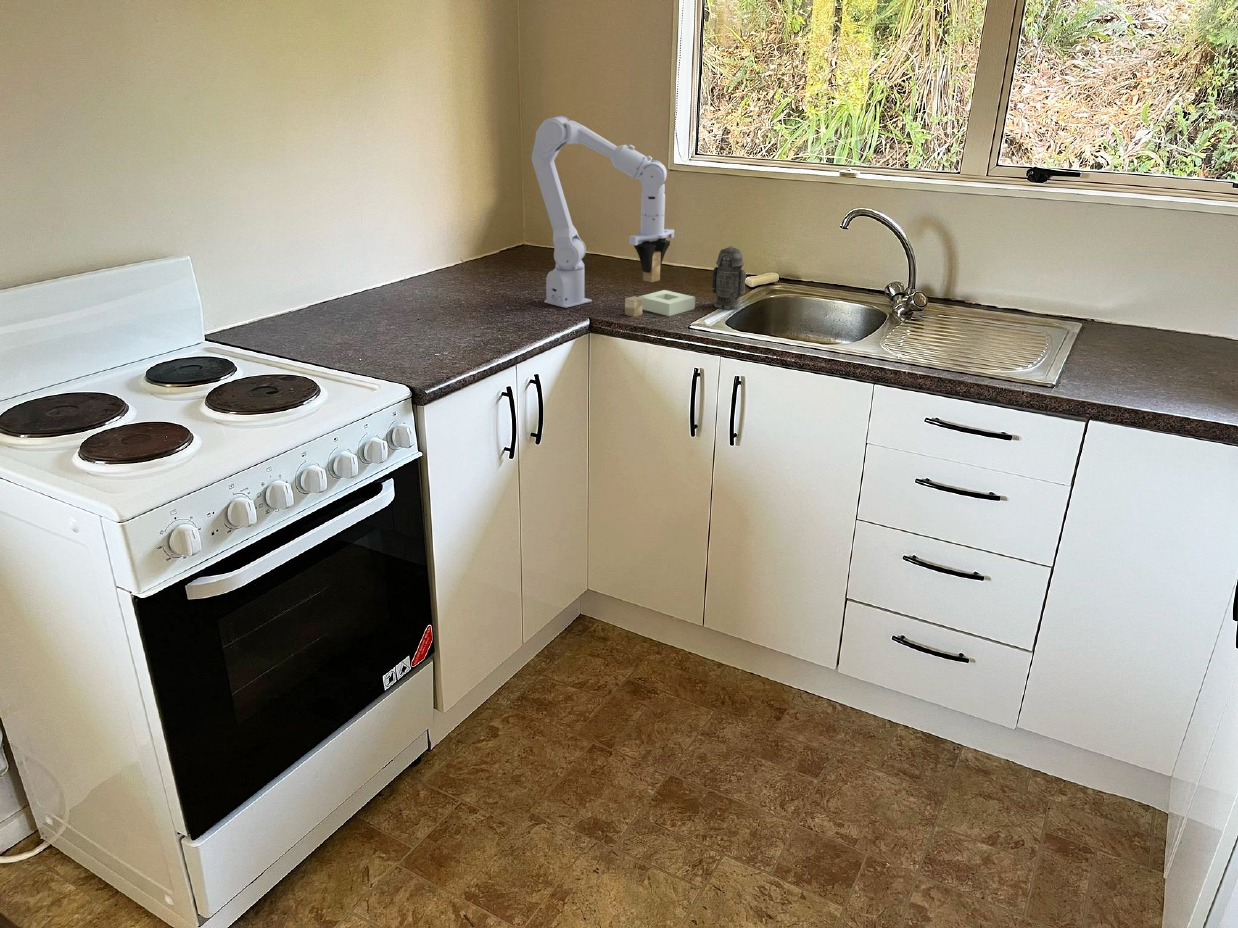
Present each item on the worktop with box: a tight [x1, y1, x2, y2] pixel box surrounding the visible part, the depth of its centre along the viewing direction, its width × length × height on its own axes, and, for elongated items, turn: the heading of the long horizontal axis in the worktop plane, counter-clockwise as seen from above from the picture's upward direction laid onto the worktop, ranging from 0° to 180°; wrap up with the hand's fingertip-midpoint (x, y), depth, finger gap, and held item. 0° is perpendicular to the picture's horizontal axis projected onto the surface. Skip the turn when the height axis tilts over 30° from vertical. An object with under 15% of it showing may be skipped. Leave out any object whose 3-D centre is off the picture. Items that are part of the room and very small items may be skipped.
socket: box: [637, 289, 696, 317], centre depth 230 cm, size 10×10×3 cm
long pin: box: [642, 251, 661, 283], centre depth 227 cm, size 3×3×7 cm
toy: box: [711, 245, 747, 310], centre depth 230 cm, size 8×6×15 cm
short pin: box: [624, 296, 643, 318], centre depth 224 cm, size 3×3×4 cm
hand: (651, 270), depth 228 cm, fingers closed on long pin, 3 cm apart
